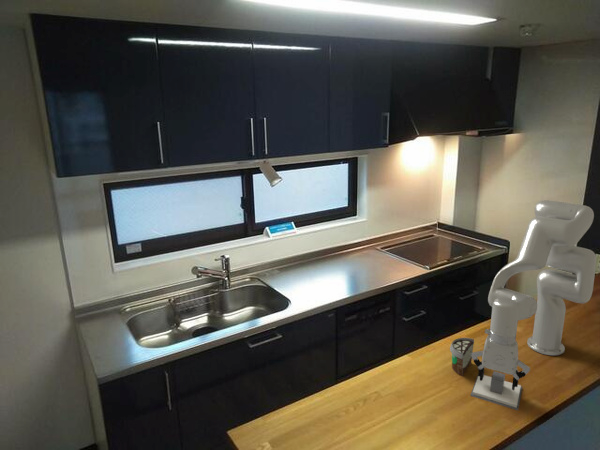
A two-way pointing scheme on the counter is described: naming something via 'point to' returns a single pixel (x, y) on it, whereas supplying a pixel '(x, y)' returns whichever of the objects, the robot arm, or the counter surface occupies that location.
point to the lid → (497, 389)
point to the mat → (495, 401)
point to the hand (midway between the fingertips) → (497, 383)
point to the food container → (461, 354)
